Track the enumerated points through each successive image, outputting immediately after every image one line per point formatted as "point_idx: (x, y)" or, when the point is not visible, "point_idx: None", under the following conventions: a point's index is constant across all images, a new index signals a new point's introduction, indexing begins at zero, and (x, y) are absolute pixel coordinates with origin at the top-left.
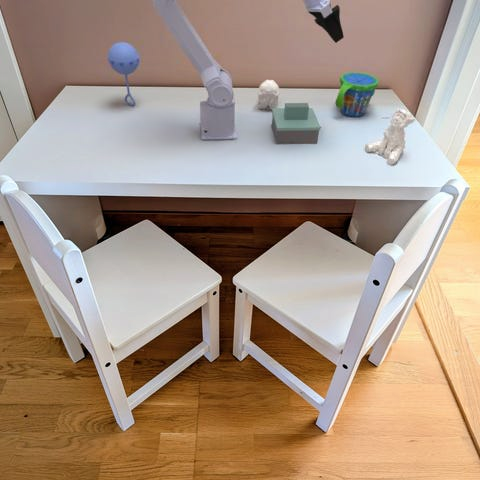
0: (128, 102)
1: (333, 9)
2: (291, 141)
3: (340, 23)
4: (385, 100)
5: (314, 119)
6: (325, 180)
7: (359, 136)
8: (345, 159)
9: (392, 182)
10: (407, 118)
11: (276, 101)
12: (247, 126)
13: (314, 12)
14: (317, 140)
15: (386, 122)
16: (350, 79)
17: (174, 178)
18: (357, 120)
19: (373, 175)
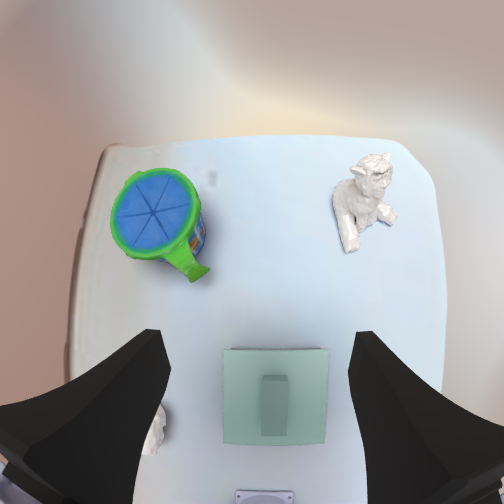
0: None
1: (476, 489)
2: None
3: (426, 383)
4: (141, 163)
5: (287, 357)
6: (437, 346)
7: (290, 249)
8: (379, 300)
9: (436, 236)
10: (392, 167)
11: (163, 414)
12: (237, 470)
13: (124, 502)
14: (320, 348)
15: (230, 180)
16: (140, 231)
17: None
18: (217, 235)
19: (423, 261)
